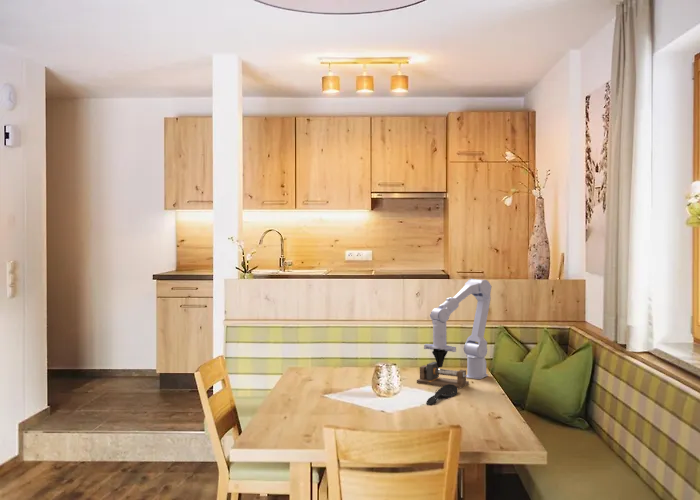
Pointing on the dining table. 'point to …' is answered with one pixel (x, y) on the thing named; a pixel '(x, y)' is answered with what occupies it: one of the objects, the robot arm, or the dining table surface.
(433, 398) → the hairbrush
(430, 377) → the collar
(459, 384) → the pipe stand
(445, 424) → the dining table surface
